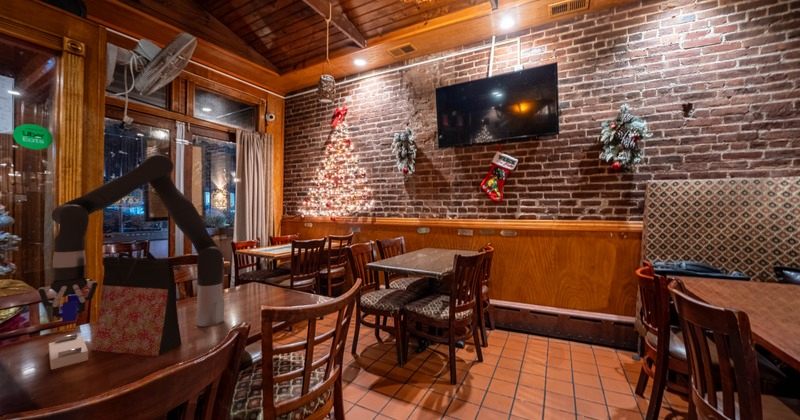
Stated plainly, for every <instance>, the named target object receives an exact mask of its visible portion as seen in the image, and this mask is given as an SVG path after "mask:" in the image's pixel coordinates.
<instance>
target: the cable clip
mask: <svg viewBox="0 0 800 420" xmlns="http://www.w3.org/2000/svg"><path fill="white" fill-rule="evenodd" d="M66 296H67V300H66V301H63V302H62V303H61V305H60V306H59V318H58V319H60V318H61V321H62V322H61V323H66V322H73V321H77V319H78V316H79V315H80V314H79V302H80V300H79V298H78V296H77V294H74V295H66Z"/></svg>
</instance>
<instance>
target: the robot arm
mask: <svg viewBox="0 0 800 420" xmlns="http://www.w3.org/2000/svg"><path fill="white" fill-rule="evenodd" d="M173 170H174V163H173V161H172V160H171V158H170V157H168V156H166V155H163V154H153V155H150V156H148V157H147V158H146V159H145V160H143V162H142V163H141V164H140V165H138V166H136V167H135V168H133V169H132V170H130V171H129V172H127V173H124V174H123V175H120V176H118V177H117V178H115V179H112V180H110V181H108V182H106V183H104V184H102V185H101V186H99V187H97V188H95V189H93V190H91V191H89V192H87V193H85V194H84V195H81V196H78V197H76V198H74V199H73V198H72V199H71V200H69V201H66V202H64V203H62V204H60V205H58V206H57V207H56V208H54V209H53V210H52V212H51V219H52V220H53V221H54V222H55V223H57V224H58V234H56V235H55V237H54V242H53V244H54V245H53V251H54V253H53V258H52V282H51V284H50V285H49V286H42V287H39V288H38V294H39V297H40V299H41V301H42V303H43V306H44V307H52V311H51V312H52V314H51V315H52V317H55V319H60V318H59V311H60V306H59V303H60V302H61V300H62V298H63V297H65V296H68V295H74V294H77V296H78V298H79V300H80V302H79V314H78V315H81V314H83V312H85V311H86V302H87V301H90V300H92V299H93V298H94V295H95V292H96V290H97V287H98V284H99V283H98V281H96V280H93V281H92V280H90V281H88V280H87V279H86V271H87V269H86V266H87V265H86V264H87V259H86V258H87V256H86V238H85V237H86V234H87V231H88V227H89V222H90V216H89V215H92V214H93V213H96V212H99V211H103V210H105V209H107V208H109V207H111V206H112V205H114V204H116V203H117V202H119V201H121V200H122V199H124V198H126V197H127V196H129V195H130V194H132V193H133V192H134V191H136V190H137V189H139V188H141V187H143V186H144V185H146V184H147V183H148V184H149V185H150V186H151V188H153V190H154V191H155V193H156V194H157V195H158V197H159V198H160V201H161V202H162V204H163V205H164V207H165V209H166V210H167V212H168V214H169V216H170V217H171V219H172V220H173V223H174V224H175V225H176V226H177V228H178V229H179V230H180V231H181V232H182V233H183V234H184V235H185V237H186V238H187V239H188V240H189V241H190V243H191V244H192V246H193V247H194V249H195V251H196V253H197V254H196V255H198V256H197V262H196V263H197V264H196V266H197V267H196V271H197V275H196V276H197V278H196V279H197V293H196V294H197V296H196V297H197V298H196V299H197V300H196V302H197V303H196V304H197V305H196V308H197V309H196V311H197V312H196V326H198V327H211V326H217V325H219V324H221V323H222V322H223V321H224V320H225V319H224V318H225V299H223V281H224V279H223V277H224V276H223V269H224V268H223V267H224V263H223V262H224V261H223V260H224V252H223V250H222V249H221V248H220V247H219V245H218V244H217V243H216V241H214V239H213V237H211V235H210V233H209V232H208V229H207V227H206V225H205V223H204V221H203V218H202V217H201V215H200V213H199V211H198V210H197V208H196V207H195V205H194V203H193V202H192V201H191V200H190V199H189V198H188V197H187V196H186V195H184V194H183V193H182V192H181V191H180V190H179V189H178V188H177V187H176V184H175V183H174V182H173V179H172V178H171V176H170V175H171V174H172V172H173ZM86 285H87V287H88V288H89V291H88V294H87V295H86V296H84V295H83V293H82V290H83V289H84V288H85V287H86ZM50 290H52V291H53V292H55V293H56V294H55V296H54V298H53V300H52V301H51V300H49V298H48V294H49V292H50Z"/></svg>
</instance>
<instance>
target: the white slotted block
mask: <svg viewBox="0 0 800 420" xmlns="http://www.w3.org/2000/svg"><path fill="white" fill-rule="evenodd" d="M48 358H49V364H50V365H49V366H50V370H55V369H58V368H62V367H63V368H64V367H67V366H71V365H74V364H78V363H81V362H85V361H89V350H88V346H87V345H86V342H85V340H84V337H83V335H81V336H78V334H77V333H73V334H69V335H64V336H60V337H55V341H54V342H49V343H48Z"/></svg>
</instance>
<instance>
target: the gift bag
mask: <svg viewBox="0 0 800 420" xmlns="http://www.w3.org/2000/svg"><path fill="white" fill-rule="evenodd" d="M144 253H145V257H146V258H145V257H141V256H142V255H143V254H144ZM102 260H103V261H102V262H103V277H102V286H101V293H100V303H99V309H98V315H97V321H96V326H95V331H94V336H93V340H92V345H91V348H90V350H91V351H96V352H106V353H118V354H119V353H120V354H130V355H132V354H133V355H141V356H150V357H151V356H154V357H159V356H161V355H163V354H165V353H167V352H169V351H171V350H172V349H174V348H176V347H178V346H180V345H181V344H182V338H181V331H180V325H179V316H178V308H177V296H176V280H175V271H174V270H176V271H179V272H180V271H181V268H182V264H181V265H174V266H173V263H172V259H167V258H156V257H155V256H154V255H153V254H152V252H150V251H144V252H143V253H141V254H140V255H139V256H138V257H134V256H133V255H131V254H129V253H126V252H121V253H118V252H116V256H105V257H102Z"/></svg>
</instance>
